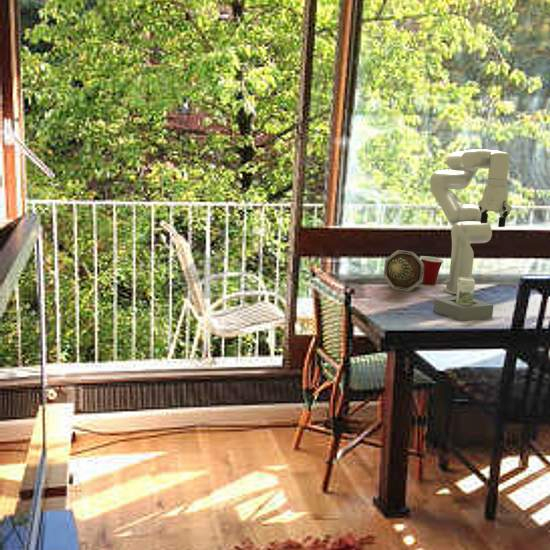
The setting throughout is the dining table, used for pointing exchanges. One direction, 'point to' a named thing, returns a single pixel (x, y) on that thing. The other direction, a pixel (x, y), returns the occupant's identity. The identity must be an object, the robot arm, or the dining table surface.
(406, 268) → the potted plant
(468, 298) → the syrup box
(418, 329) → the dining table surface
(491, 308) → the socket stand
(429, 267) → the plastic cup
